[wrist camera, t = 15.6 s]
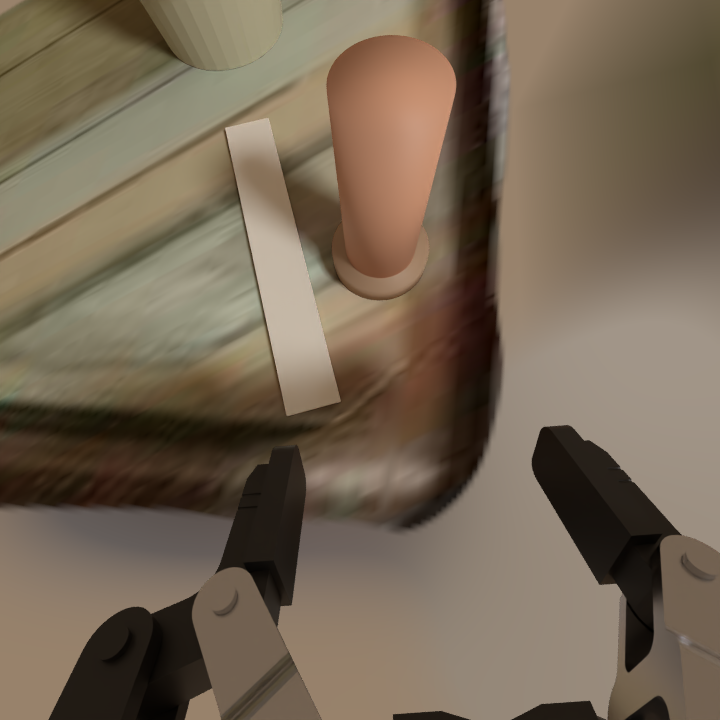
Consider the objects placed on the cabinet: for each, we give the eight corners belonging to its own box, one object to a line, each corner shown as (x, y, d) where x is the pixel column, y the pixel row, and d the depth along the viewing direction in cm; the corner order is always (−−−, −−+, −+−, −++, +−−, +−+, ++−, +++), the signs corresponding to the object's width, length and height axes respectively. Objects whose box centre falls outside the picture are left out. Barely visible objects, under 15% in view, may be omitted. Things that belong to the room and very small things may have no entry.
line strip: (288, 416, 18) (286, 415, 17) (226, 131, 22) (225, 128, 22) (341, 401, 18) (340, 401, 17) (269, 121, 22) (268, 117, 22)
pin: (346, 310, 19) (324, 177, 9) (324, 230, 20) (284, 38, 11) (437, 286, 19) (509, 131, 9) (409, 208, 20) (447, 1, 11)
